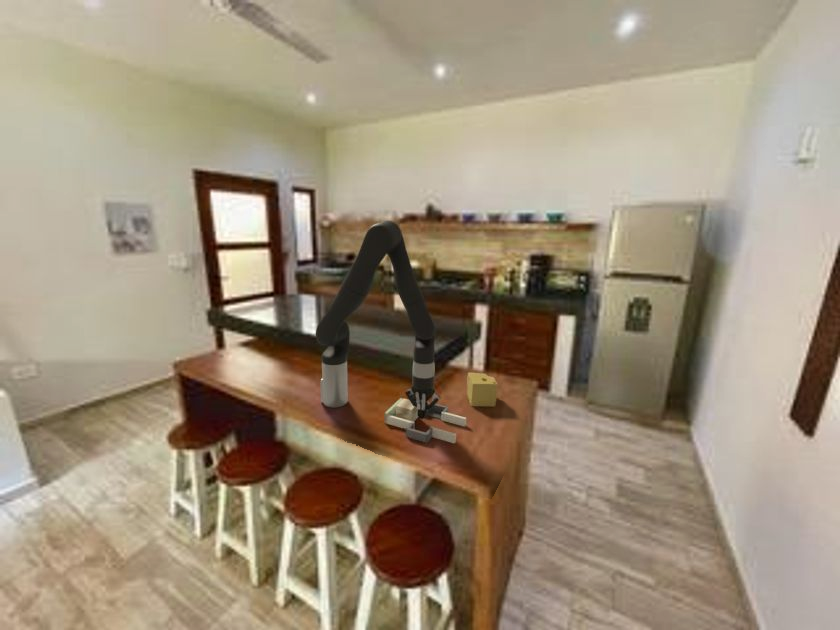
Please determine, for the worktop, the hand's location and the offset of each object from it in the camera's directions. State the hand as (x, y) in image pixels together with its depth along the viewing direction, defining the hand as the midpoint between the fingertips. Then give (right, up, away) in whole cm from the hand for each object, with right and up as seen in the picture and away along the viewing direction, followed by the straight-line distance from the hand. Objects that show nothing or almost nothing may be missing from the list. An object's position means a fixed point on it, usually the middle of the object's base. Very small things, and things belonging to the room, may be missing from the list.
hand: (421, 417), depth 129 cm
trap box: (+1, -2, 0) cm, 3 cm away
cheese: (+24, +2, +18) cm, 30 cm away
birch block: (-5, -1, +3) cm, 6 cm away
